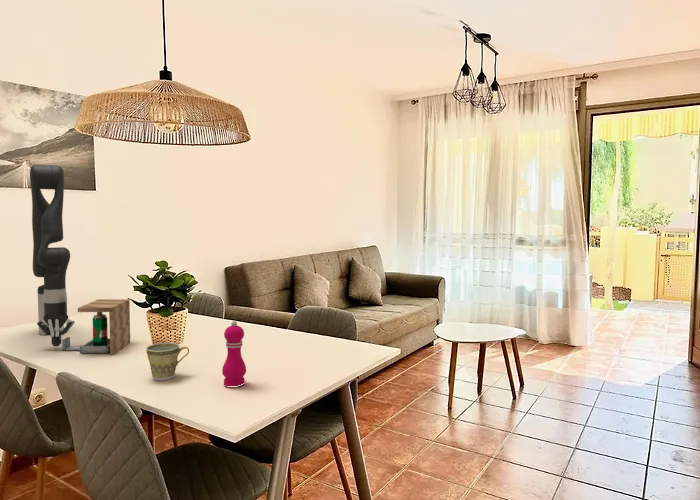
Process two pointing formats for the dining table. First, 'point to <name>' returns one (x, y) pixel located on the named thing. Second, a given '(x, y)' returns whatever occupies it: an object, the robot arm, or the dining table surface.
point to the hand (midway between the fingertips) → (56, 345)
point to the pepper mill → (234, 356)
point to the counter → (113, 320)
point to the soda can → (100, 330)
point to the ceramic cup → (164, 359)
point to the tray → (86, 347)
